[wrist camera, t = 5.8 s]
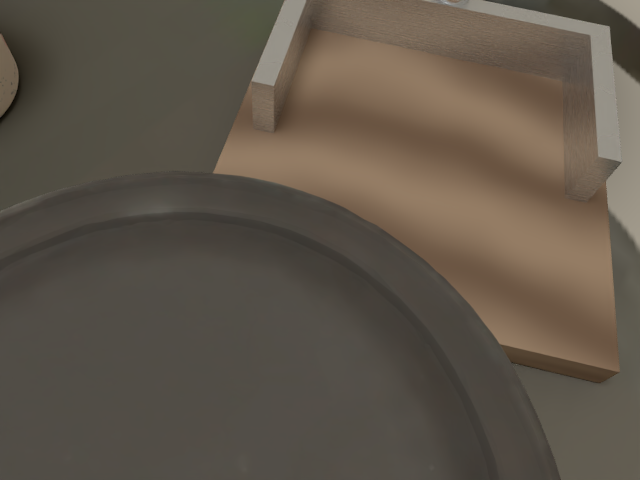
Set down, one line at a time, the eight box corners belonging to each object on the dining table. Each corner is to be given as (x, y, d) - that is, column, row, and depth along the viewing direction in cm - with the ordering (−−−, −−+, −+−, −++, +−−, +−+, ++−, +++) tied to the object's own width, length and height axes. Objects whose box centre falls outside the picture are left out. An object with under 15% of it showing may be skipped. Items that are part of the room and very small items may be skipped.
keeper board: (599, 383, 22) (619, 372, 21) (179, 283, 23) (174, 267, 22) (584, 84, 32) (597, 64, 30) (284, 21, 32) (285, -2, 31)
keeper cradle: (586, 202, 25) (718, 51, 18) (253, 128, 26) (246, -47, 18) (579, 58, 30) (679, -106, 23) (302, 0, 31) (312, -177, 24)
